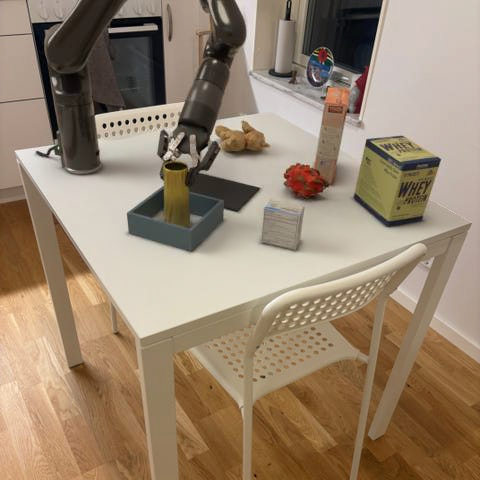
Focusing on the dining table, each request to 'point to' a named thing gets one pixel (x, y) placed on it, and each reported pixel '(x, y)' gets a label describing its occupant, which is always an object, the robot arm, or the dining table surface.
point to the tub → (171, 233)
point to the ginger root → (241, 138)
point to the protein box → (395, 179)
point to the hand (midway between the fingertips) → (175, 182)
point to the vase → (176, 194)
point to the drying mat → (224, 190)
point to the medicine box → (282, 224)
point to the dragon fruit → (304, 180)
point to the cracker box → (331, 132)
